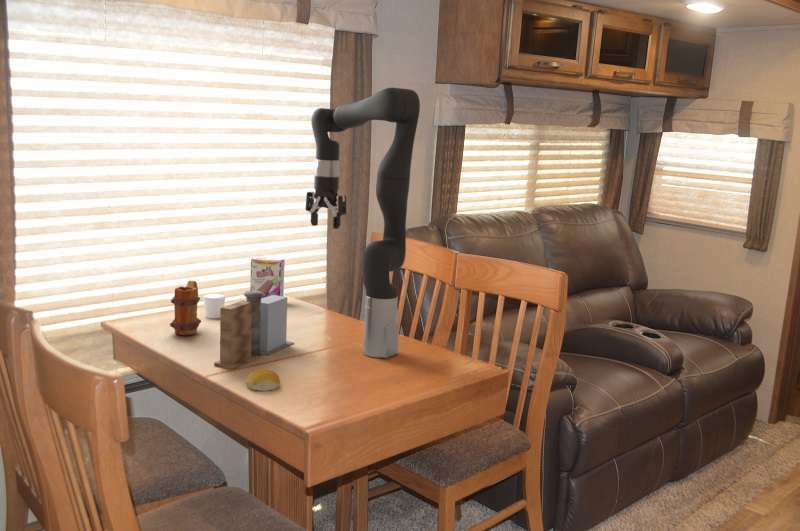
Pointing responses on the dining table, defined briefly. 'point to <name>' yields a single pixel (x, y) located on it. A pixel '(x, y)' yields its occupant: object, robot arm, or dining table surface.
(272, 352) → the seat pad
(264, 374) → the bread roll
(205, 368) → the dining table surface
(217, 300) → the beige cup
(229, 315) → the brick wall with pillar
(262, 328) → the light grey block
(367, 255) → the robot arm
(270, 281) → the candy bar box
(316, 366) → the dining table surface
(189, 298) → the mug
